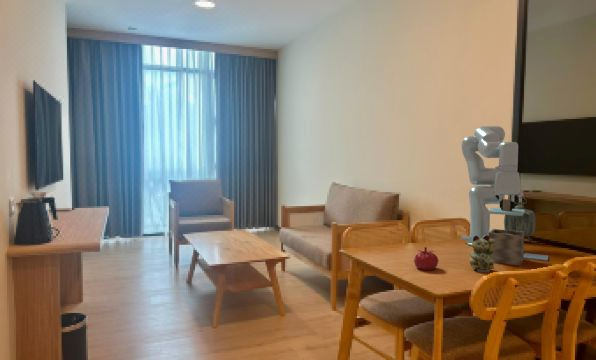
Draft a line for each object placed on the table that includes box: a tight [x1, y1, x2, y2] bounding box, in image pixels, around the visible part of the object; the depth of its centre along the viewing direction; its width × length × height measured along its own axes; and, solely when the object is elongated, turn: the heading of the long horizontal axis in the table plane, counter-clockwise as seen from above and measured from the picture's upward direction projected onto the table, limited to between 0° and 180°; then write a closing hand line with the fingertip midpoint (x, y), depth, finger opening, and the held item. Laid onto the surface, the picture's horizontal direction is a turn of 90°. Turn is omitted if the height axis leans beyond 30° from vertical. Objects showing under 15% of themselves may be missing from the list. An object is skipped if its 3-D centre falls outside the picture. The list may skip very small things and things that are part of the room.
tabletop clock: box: [503, 196, 537, 243], centre depth 230 cm, size 14×9×25 cm, turn 49°
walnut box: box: [489, 228, 525, 266], centre depth 187 cm, size 13×13×13 cm
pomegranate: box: [413, 246, 440, 271], centre depth 174 cm, size 10×10×9 cm
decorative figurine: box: [468, 235, 495, 273], centre depth 172 cm, size 10×8×15 cm
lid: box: [488, 198, 526, 216], centre depth 187 cm, size 14×14×6 cm
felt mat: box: [523, 252, 549, 262], centre depth 193 cm, size 10×10×1 cm
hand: (506, 209), depth 187 cm, fingers closed on lid, 3 cm apart
